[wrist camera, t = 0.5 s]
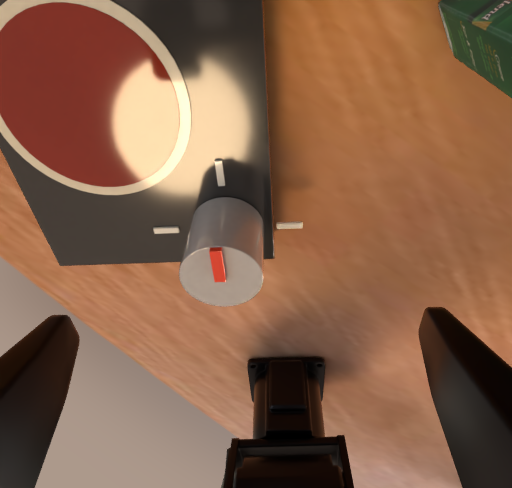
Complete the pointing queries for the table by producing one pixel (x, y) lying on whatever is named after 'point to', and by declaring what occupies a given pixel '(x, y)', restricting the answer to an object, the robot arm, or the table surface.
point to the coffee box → (481, 37)
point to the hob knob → (224, 253)
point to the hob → (197, 151)
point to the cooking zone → (90, 95)
